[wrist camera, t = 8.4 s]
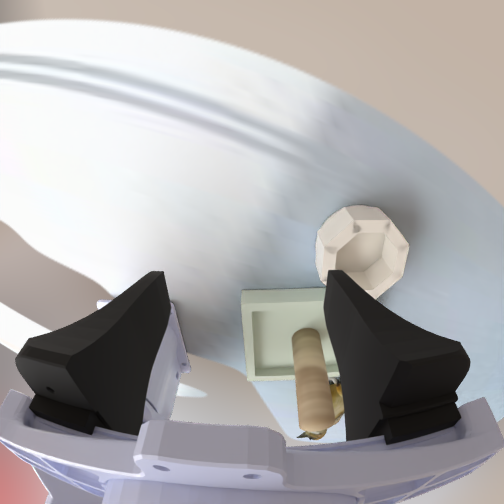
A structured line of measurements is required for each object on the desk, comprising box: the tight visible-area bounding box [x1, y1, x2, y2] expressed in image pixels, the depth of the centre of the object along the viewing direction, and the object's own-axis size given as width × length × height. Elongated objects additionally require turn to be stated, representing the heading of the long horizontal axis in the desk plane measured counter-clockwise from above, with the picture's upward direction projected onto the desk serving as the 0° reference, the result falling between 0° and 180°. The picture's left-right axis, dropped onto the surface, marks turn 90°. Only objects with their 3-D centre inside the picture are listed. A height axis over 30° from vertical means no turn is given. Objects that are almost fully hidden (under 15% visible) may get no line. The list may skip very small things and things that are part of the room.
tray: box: [241, 287, 377, 381], centre depth 26 cm, size 10×11×2 cm
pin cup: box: [315, 205, 409, 299], centre depth 21 cm, size 6×6×3 cm
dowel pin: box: [292, 328, 336, 432], centre depth 22 cm, size 3×3×9 cm
